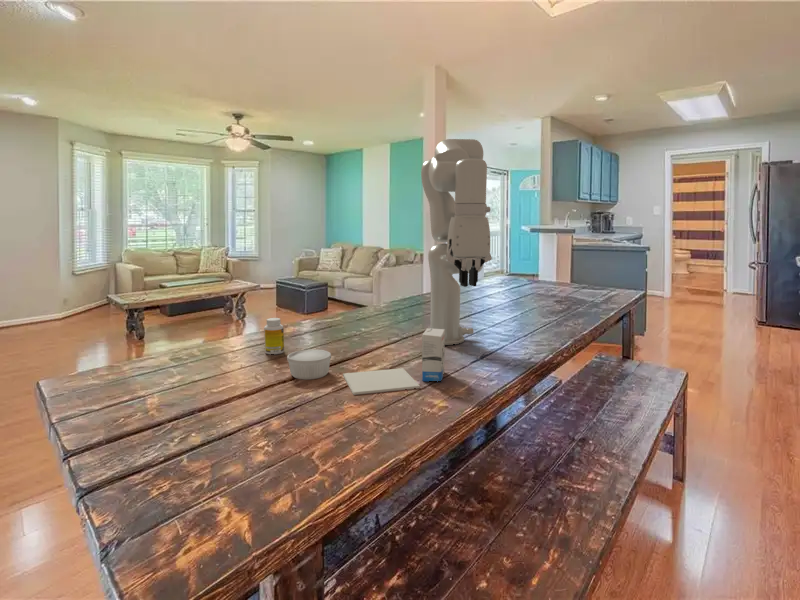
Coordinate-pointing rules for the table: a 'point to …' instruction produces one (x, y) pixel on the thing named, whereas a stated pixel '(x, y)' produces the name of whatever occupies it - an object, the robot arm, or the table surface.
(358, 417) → the table surface
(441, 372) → the ink box
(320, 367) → the ramekin
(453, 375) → the table surface
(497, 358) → the table surface
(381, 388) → the rubber mat
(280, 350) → the supplement bottle
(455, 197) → the robot arm
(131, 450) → the table surface
